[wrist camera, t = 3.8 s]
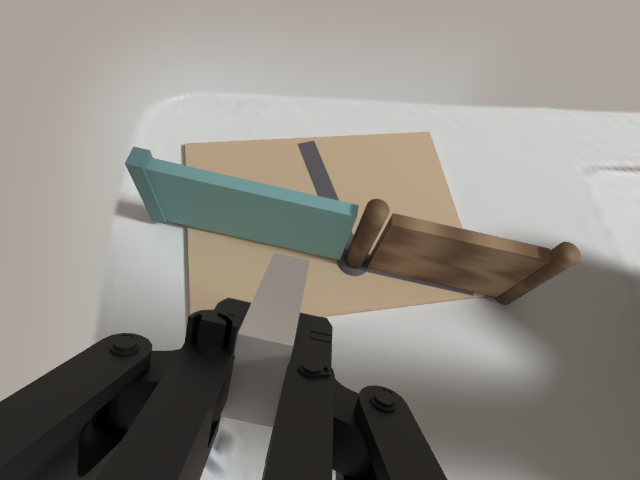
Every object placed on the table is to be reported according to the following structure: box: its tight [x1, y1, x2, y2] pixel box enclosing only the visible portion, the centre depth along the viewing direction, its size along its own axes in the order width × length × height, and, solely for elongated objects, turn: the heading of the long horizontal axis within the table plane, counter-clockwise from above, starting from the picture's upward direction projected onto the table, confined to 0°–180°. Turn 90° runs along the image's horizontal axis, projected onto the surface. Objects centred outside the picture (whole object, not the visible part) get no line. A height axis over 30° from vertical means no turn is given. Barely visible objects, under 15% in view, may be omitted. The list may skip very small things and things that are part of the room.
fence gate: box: [125, 147, 359, 260], centre depth 40 cm, size 20×2×10 cm, turn 79°
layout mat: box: [185, 132, 485, 317], centre depth 47 cm, size 30×22×1 cm
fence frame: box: [345, 199, 581, 305], centre depth 40 cm, size 18×2×11 cm, turn 79°
